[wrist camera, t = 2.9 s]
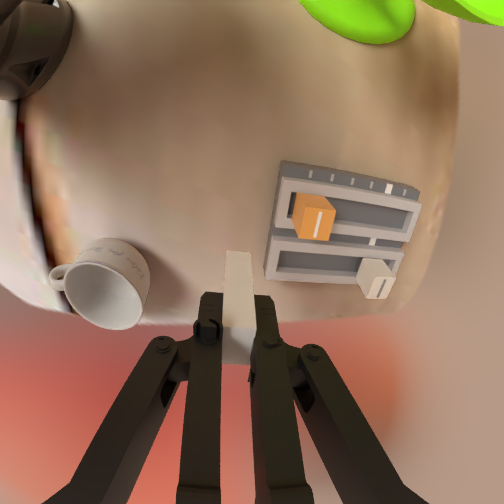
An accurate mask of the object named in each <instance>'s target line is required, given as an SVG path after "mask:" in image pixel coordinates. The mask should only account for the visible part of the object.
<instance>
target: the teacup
mask: <svg viewBox="0 0 504 504" xmlns="http://www.w3.org/2000/svg"><path fill="white" fill-rule="evenodd" d="M62 275H65V276H64V279H63V280H56V279H57V278H58V277H60V276H62ZM49 283H50V285H51V287H52V288H53V289H54V290H57V291H63V290H64V291H65V294H66V297H67V299H68V301H69V302H70V304H71V305H72V307H73V308H74V309H75V310H76V311H77V312H78V313H79V314H80V315H81V316H82V317H84V318H85V319H86V320H88V321H90V322H91V323H93V324H96V325H97V326H100V327H102V328H106V329H110V330H125V329H129V328H131V327H133V326H135V325H136V324H137V323H138V322H139V321H140V319H141V317H142V315H143V309H144V305H145V302H146V298H147V295H148V291H149V287H150V271H149V268H148V265H147V263H146V261H145V259H144V258H143V256H142V255H141V254H140V253H139V252H138V251H137V250H136V249H135V248H134V247H133V246H131V245H130V244H128V243H126V242H124V241H121V240H118V239H113V238H102V239H98V240H96V241H94V242H92V243H90V244H89V245H88V246H87V247H86V248H85V249H84V250H83V251H82V252H81V253H80V255H79V256H78V257H77V259H76V260H75V262H74V263H70V264H64V265H60V266H58V267H56V268H54V269H53V270H52V271H51V272H50V274H49Z"/></svg>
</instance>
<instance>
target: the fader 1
mask: <svg viewBox="0 0 504 504" xmlns="http://www.w3.org/2000/svg"><path fill="white" fill-rule="evenodd" d="M335 214H336V210H335V209H334V207H333V206H332V205H331V204H330V203H329V201H328V200H327V199H326V198H325V197H324V196H320V195H313V194H305V193H298V192H297V194H296V199H295V204H294V209H293V215H292V220H291V221H292V223H293V226H294V228H295V230H296V233H297V235H298V238H301V239H311V240H321V241H328V240H329V237H330V233H331V229H332V225H333V222H334V218H335Z"/></svg>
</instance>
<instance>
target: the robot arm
mask: <svg viewBox="0 0 504 504" xmlns="http://www.w3.org/2000/svg"><path fill="white" fill-rule="evenodd" d="M72 24H73V18H72V12H71V8H70V6H69V5H68V3H67V2H66V1H65V0H0V100H16V99H21V98H25V97H27V96H29V95H31V94H33V93H34V92H36V91H37V90H38V89H40V88H41V87H42V86H43V85H44V84H45V83H46V82H47V80H48V79H49V78H50V77H51V76H52V74H53V73H54V71H55V70H56V68H57V67H58V65H59V63H60V62H61V60H62V58H63V56H64V54H65V51H66V49H67V46H68V43H69V40H70V37H71V32H72ZM193 333H194V335H193V336H192V337H191V338H189V339H187V340H183V341H177V342H176V341H175V340H174V339H172V338H170V337H168V336H159V337H156V338H154V339H153V340H152V341H151V342H150V343H149V344H148V346H147V348H146V349H145V351H144V353H143V354H142V356H141V357H140V359H139V361H138V362H137V364H136V366H135V367H134V369H133V371H132V372H131V374H130V376H129V377H128V379H127V381H126V382H125V384H124V386H123V387H122V389H121V391H120V392H119V394H118V396H117V398H116V399H115V401H114V403H113V405H112V406H111V408H110V410H109V411H108V413H107V415H106V417H105V418H104V420H103V422H102V424H101V425H100V427H99V429H98V431H97V433H96V434H95V436H94V438H93V440H92V442H91V444H90V446H89V447H88V449H87V451H86V453H85V455H84V456H83V458H82V460H81V462H80V464H79V466H78V468H77V470H76V472H75V473H74V476H73V477H72V479H71V481H70V483H69V484H67V485H66V486H65V487H63V488H62V489H61V490H60V491H58V492H57V493H56V494H54V495H53V496H52V497H50V498H49V499H48V500H46V501H45V502H44V503H42V504H126V503H127V501H128V499H129V497H130V495H131V492H132V490H133V488H134V485H135V483H136V481H137V478H138V476H139V474H140V472H141V469H142V467H143V465H144V462H145V460H146V458H147V456H148V454H149V451H150V449H151V447H152V445H153V442H154V440H155V438H156V435H157V433H158V431H159V429H160V427H161V424H162V422H163V420H164V418H165V416H166V413H167V411H168V409H169V407H170V404H171V402H172V400H173V397H174V395H175V393H176V391H177V389H178V387H179V385H180V382H181V381H187V380H188V386H187V395H186V405H185V414H184V424H183V435H182V447H181V459H180V474H179V483H178V486H177V493H176V504H221V489H220V415H221V414H220V413H221V371H222V364H239V365H249V364H250V365H251V368H250V374H249V378H248V382H250V397H251V418H252V435H253V436H252V437H253V454H254V455H253V456H254V473H255V491H256V498H255V504H314V498H313V492H312V489H311V487H310V485H308V483H307V482H306V479H305V473H304V466H303V460H302V452H301V446H300V439H299V432H298V426H297V419H296V413H295V407H294V401H295V403H296V405H297V408H298V410H299V412H300V414H301V416H302V418H303V421H304V423H305V425H306V427H307V429H308V431H309V434H310V436H311V438H312V440H313V442H314V444H315V446H316V448H317V450H318V453H319V455H320V457H321V459H322V461H323V463H324V465H325V467H326V469H327V471H328V474H329V476H330V478H331V480H332V482H333V484H334V486H335V488H336V490H337V492H338V494H339V496H340V498H341V500H342V502H343V504H429V503H427V502H426V501H424V500H423V499H422V498H421V497H420V496H418V495H417V494H416V493H414V492H413V491H412V490H410V489H409V488H408V487H406V486H405V485H404V484H403V482H402V481H401V479H400V477H399V475H398V474H397V472H396V470H395V468H394V467H393V465H392V463H391V461H390V460H389V458H388V456H387V454H386V453H385V451H384V449H383V448H382V446H381V444H380V442H379V441H378V439H377V437H376V436H375V434H374V432H373V431H372V429H371V427H370V425H369V424H368V422H367V420H366V418H365V417H364V415H363V413H362V412H361V410H360V408H359V407H358V405H357V403H356V401H355V400H354V398H353V397H352V395H351V393H350V391H349V390H348V388H347V386H346V385H345V383H344V382H343V380H342V378H341V376H340V375H339V373H338V371H337V370H336V368H335V366H334V365H333V363H332V361H331V359H330V358H329V356H328V354H327V353H326V351H325V350H324V349H323V348H322V347H320V346H318V345H315V344H307V345H304V346H303V347H302V348H301V349H300V348H297V347H293V346H290V345H288V344H286V343H285V342H284V341H283V339H282V338H281V337H280V335H279V329H278V323H277V317H276V311H275V305H274V301H273V300H272V299H271V297H270V296H266V295H254V290H253V278H252V266H251V253H250V252H241V251H229V250H227V251H226V262H225V273H224V285H223V293H216V292H205V293H204V294H203V295H202V297H201V300H200V307H199V313H198V320H196V321H195V323H194V325H193ZM293 399H294V401H293Z"/></svg>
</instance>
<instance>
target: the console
mask: <svg viewBox="0 0 504 504" xmlns="http://www.w3.org/2000/svg"><path fill="white" fill-rule="evenodd" d="M297 192H298V193H305V194H313V195H320V196H324V197H325V198H326V199H327V200H328V201H329V203H330V204H331V205H332V206H333V207H334V209H335V210H336V214H335V218H334V222H333V225H332V229H331V233H330V237H329V240H328V241H321V240H311V239H301V238H298V235H297V233H296V230H295V228H294V226H293V223H292V221H291V220H292V215H293V209H294V204H295V199H296V194H297ZM419 194H420V191H418V190H417V189H415V188H414V187H412V186H409V185H405V184H401V183H397V182H393V181H389V180H384V179H380V178H376V177H371V176H367V175H362V174H357V173H352V172H347V171H342V170H337V169H331V168H326V167H320V166H314V165H308V164H301V163H294V162H287V161H281V164H280V170H279V177H278V183H277V189H276V195H275V201H274V207H273V213H272V219H271V225H270V231H269V237H268V243H267V249H266V255H265V260H264V266H263V268H264V274H265V277H266V280H279V281H296V282H314V283H334V284H356V285H358V283H357V281H356V279H355V278H356V275H357V273H358V272H357V271H356V267H357V264H358V261H359V259H360V258H371V259H383V261H384V262H385V263H386V265H387V266H388V267H389V269H390V270H391V271H392V273H393V274H394V276H395V275H396V273H397V271H398V268H399V266H400V263H401V261H402V259H403V256H404V254H405V253H404V251H403V250H402V249H401V246H402V244H403V242H409V241H410V238H411V236H412V233H413V230H414V227H415V225H416V222H417V219H418V216H419V213H420V210H421V207H422V204H421V203H419V202H418V201H417V200H418V197H419Z"/></svg>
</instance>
